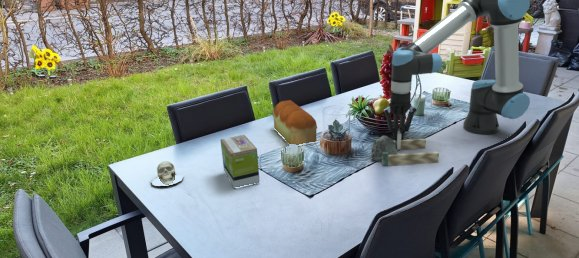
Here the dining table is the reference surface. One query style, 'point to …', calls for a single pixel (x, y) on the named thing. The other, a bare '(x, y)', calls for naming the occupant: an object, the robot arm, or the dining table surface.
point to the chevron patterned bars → (410, 154)
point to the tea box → (240, 160)
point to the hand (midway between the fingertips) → (397, 147)
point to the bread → (294, 123)
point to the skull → (166, 172)
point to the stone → (383, 148)
